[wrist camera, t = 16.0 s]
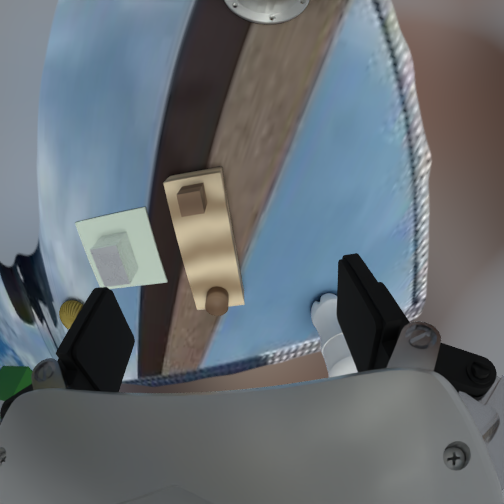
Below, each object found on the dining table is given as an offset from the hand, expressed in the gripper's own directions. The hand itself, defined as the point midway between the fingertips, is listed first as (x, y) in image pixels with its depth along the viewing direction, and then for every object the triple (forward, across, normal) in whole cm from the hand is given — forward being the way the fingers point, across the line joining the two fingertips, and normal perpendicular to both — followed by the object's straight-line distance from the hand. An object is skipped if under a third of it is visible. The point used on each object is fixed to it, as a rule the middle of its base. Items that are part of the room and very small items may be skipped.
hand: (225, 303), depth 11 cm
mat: (+33, +22, +12) cm, 42 cm away
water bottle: (+34, -13, +29) cm, 46 cm away
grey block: (+33, +22, +12) cm, 41 cm away
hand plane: (+33, +6, +12) cm, 36 cm away
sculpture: (+34, +38, +24) cm, 56 cm away
